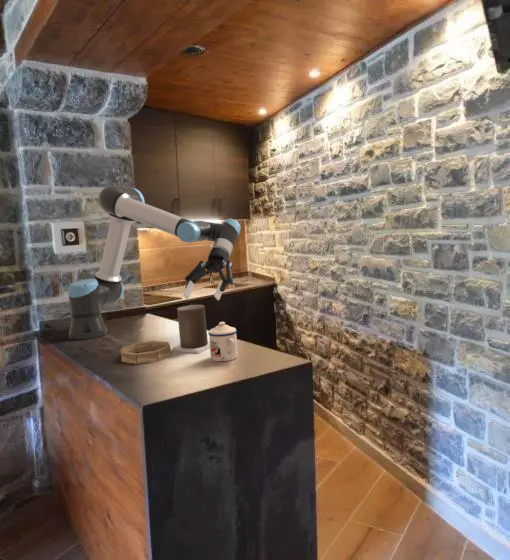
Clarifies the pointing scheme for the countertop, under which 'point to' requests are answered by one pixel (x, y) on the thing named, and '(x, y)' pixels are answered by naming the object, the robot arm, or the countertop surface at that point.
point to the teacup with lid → (223, 342)
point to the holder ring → (132, 357)
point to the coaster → (192, 349)
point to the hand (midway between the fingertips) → (200, 297)
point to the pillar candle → (192, 326)
